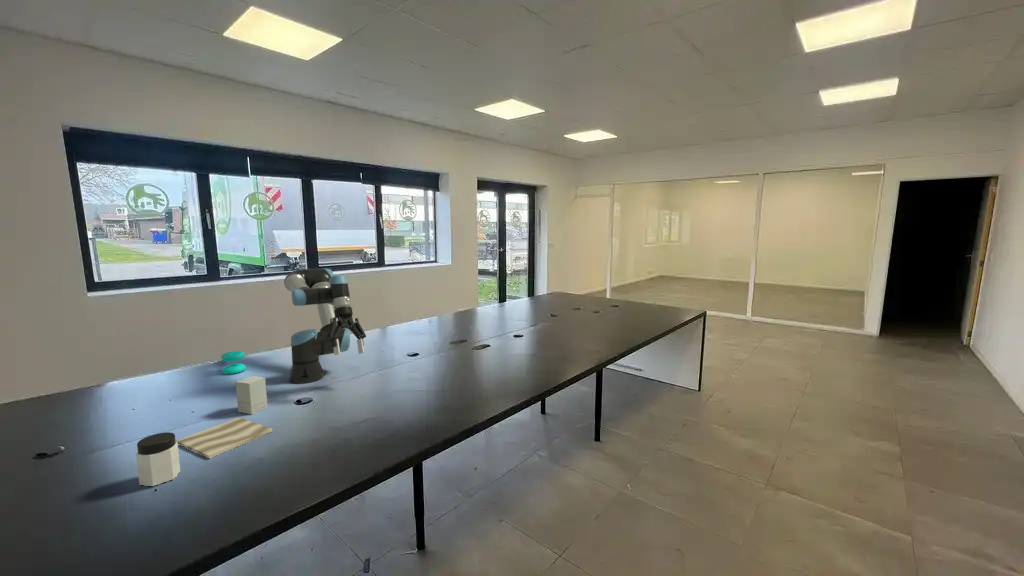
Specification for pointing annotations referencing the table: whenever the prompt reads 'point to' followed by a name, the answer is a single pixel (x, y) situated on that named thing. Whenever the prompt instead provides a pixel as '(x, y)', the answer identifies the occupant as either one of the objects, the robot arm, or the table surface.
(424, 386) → the table surface
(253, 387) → the supplement box
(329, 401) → the table surface
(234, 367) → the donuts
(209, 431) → the birch board
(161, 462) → the jar
